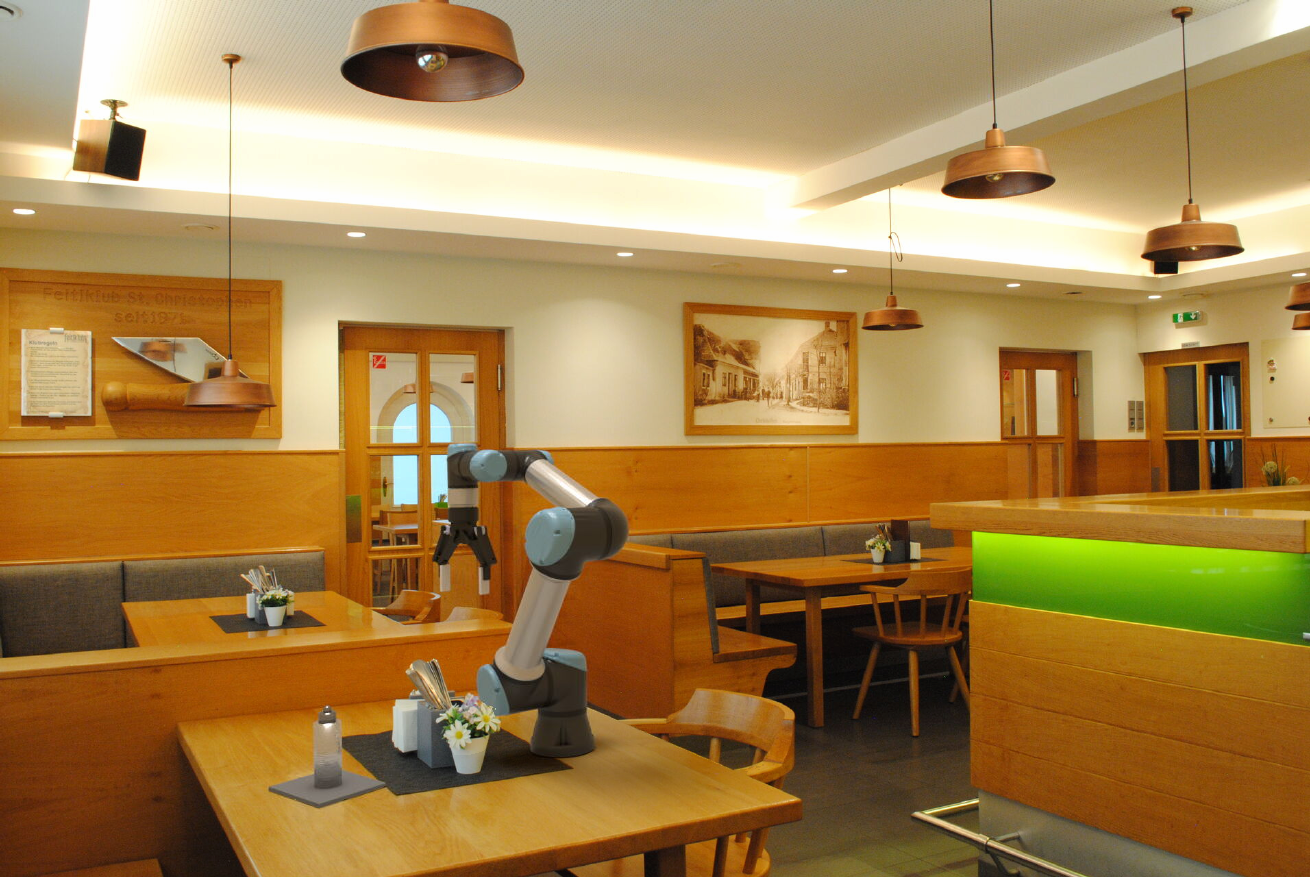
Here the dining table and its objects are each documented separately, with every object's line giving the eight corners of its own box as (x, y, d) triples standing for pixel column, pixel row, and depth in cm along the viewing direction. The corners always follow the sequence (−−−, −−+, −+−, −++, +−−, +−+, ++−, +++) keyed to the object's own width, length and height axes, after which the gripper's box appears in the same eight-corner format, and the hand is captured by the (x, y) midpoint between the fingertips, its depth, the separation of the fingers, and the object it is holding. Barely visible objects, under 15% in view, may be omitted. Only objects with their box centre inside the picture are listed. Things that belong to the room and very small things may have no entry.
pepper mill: (347, 783, 209) (346, 704, 210) (324, 790, 205) (323, 710, 205) (332, 778, 213) (331, 701, 213) (308, 785, 209) (307, 706, 209)
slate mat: (386, 786, 210) (386, 782, 210) (319, 808, 197) (319, 803, 197) (335, 771, 221) (335, 767, 221) (268, 790, 208) (268, 786, 208)
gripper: (510, 505, 243) (512, 593, 242) (439, 505, 257) (440, 588, 257) (488, 506, 237) (490, 597, 236) (417, 506, 251) (418, 591, 251)
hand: (464, 592), depth 246 cm, fingers open, 13 cm apart
